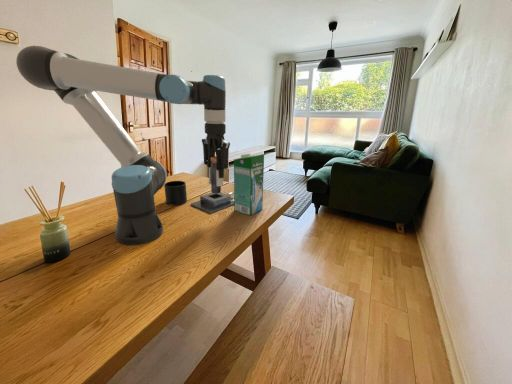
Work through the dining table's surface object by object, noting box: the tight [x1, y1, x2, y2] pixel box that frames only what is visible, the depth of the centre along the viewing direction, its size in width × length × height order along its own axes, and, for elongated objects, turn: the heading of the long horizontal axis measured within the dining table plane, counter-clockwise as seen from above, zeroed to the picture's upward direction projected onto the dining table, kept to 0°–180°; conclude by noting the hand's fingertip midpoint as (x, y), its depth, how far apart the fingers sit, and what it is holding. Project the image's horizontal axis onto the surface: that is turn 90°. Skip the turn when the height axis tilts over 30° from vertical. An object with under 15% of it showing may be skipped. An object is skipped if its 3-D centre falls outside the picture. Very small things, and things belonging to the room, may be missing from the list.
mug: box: [163, 180, 188, 206], centre depth 116 cm, size 9×12×9 cm
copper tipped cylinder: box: [210, 155, 222, 193], centre depth 95 cm, size 4×4×14 cm
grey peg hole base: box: [190, 191, 234, 214], centre depth 116 cm, size 22×14×4 cm, turn 139°
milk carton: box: [233, 153, 265, 217], centre depth 105 cm, size 9×9×25 cm
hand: (216, 184), depth 96 cm, fingers closed on copper tipped cylinder, 4 cm apart
